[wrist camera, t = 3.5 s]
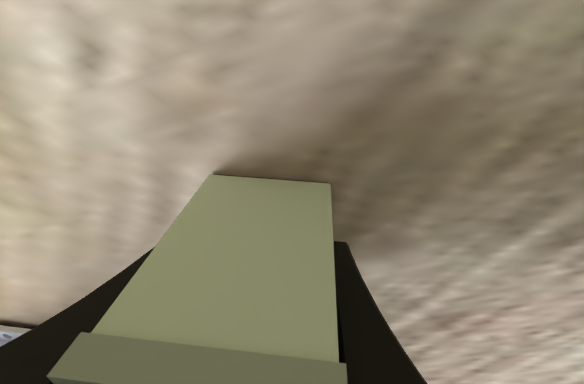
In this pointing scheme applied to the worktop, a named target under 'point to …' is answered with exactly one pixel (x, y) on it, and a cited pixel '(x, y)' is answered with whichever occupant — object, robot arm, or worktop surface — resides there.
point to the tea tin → (225, 296)
